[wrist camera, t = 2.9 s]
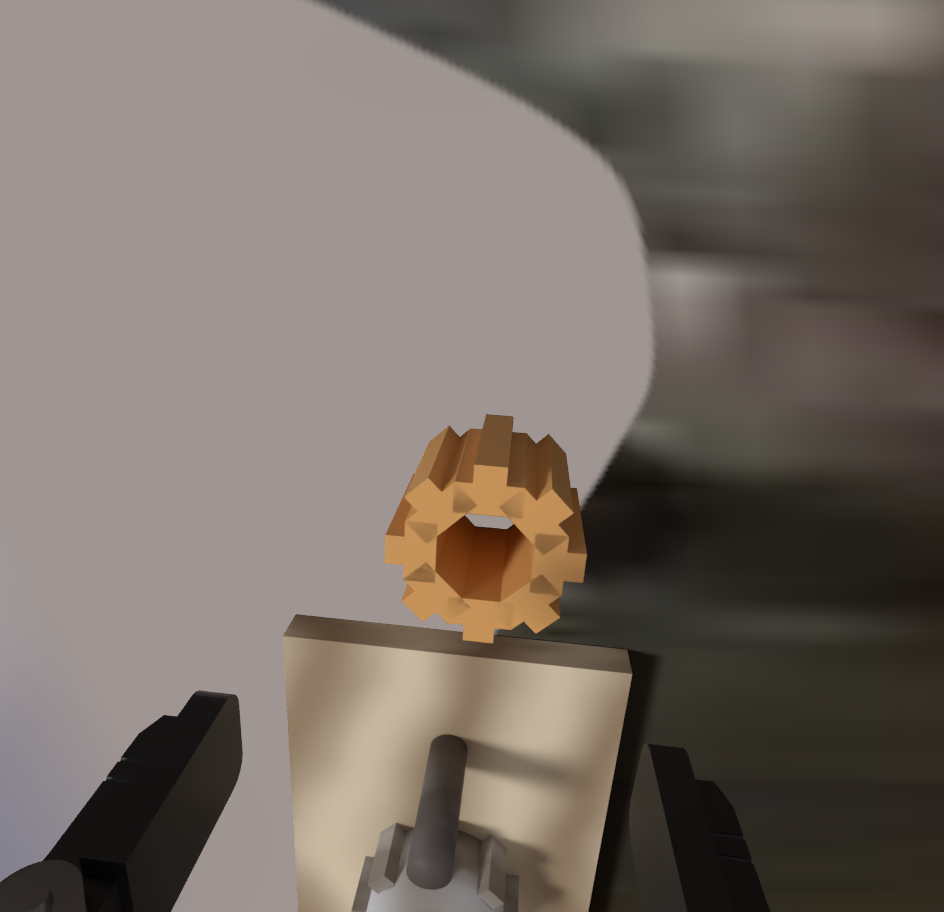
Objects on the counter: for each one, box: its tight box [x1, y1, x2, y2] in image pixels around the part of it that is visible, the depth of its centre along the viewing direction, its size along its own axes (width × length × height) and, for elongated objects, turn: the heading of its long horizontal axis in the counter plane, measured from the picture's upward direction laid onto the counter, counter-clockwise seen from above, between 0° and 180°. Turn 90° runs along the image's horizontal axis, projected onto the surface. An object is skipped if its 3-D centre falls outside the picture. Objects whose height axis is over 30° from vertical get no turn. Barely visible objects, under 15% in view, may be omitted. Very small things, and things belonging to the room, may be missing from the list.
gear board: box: [283, 614, 632, 912], centre depth 27 cm, size 14×17×7 cm
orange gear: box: [385, 414, 587, 643], centre depth 22 cm, size 6×6×5 cm
